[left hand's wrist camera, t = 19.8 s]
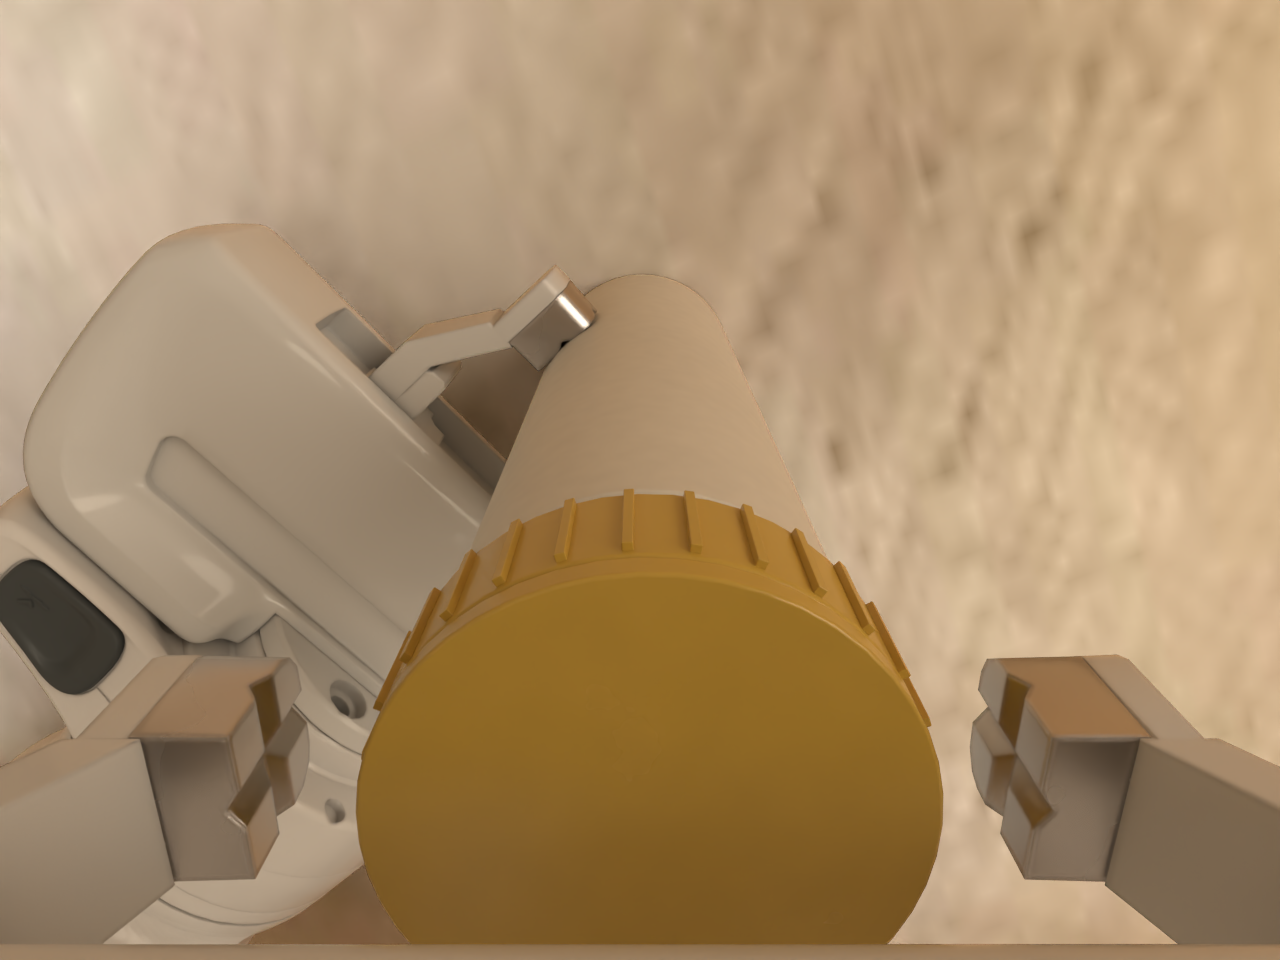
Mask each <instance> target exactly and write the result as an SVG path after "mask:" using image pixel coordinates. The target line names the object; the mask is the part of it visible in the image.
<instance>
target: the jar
mask: <svg viewBox="0 0 1280 960" xmlns="http://www.w3.org/2000/svg"><path fill="white" fill-rule="evenodd" d="M585 297H586V298H587V299H588V301H589V302H590V303H591V304H592V305H593V306H594V307H595V308H596V310H597V312H596V313H595V315H596V317H595V319H594V320H593V321H592V322H591V324H590V325H589V326H588V327H587V328H586V329H585V330H584V331H583V332H582V333H581V334H579V335H578V336H577V337H575V338H574V339H573V340H571V341H563V344H562V347H561V349H560V351H559V352H558V353H557V355H556V356H555V357H554V358H553V359H552V360H551V361H550V362H549V363H548V364H547V365H546V368H545V370H544V372H543V375H542V377H541V380H540V382H539V384H538V387H537V389H536V392H535V394H534V397H533V399H532V401H531V404H530V406H529V409H528V411H527V413H526V416H525V418H524V421H523V423H522V425H521V428H520V430H519V433H518V435H517V438H516V440H515V442H514V445H513V447H512V450H511V452H510V454H509V457H508V459H507V462H506V464H505V466H504V469H503V471H502V474H501V476H500V479H499V481H498V483H497V486H496V488H495V491H494V493H493V495H492V498H491V500H490V503H489V505H488V507H487V510H486V512H485V515H484V517H483V520H482V522H481V524H480V527H479V529H478V532H477V534H476V536H475V539H474V541H473V544H472V546H471V549H472V550H473V551H474V552H476V553H477V552H478V551H479V550H481V549H482V548H484V547H485V546H487V545H488V544H490V543H491V542H492V541H494V540H495V539H497V538H498V537H500V536H501V535H503V534H504V533H505V532H507V531H508V529H509V526H510V523H511V522H513V521H515V520H516V519H520V520H521V522H522V523H525V522H527V521H529V520H531V519H533V518H535V517H537V516H540V515H542V514H545V513H548V512H551V511H553V510H556V509H559V508H562V507H564V502H565V500H567V499H571V498H575V501H576V503H580V502H585V501H589V500H593V499H598V498H602V497H612V496H622V495H623V493H624V489H634V494H660V495H678V496H683V495H684V491H685V490H686V491H693V492H694V493H695V498H698V499H705V500H710V501H714V502H718V503H721V504H725V505H728V506H732V507H736V508H739V509H741V506H742V504H746V505H749V506H751V507H752V509H753V512H754V515H757V516H759V517H762V518H764V519H766V520H769V521H771V522H773V523H775V524H777V525H779V526H780V527H782V528H784V529H786V530H787V531H789V532H791V533H792V531H793V530H794V529H795V528H797V529H799V530H800V531H802V532H803V533H804V536H805V538H806V540H807V543H808V544H809V545H810V546H812V547H813V548H814V549H815V550H817V551H818V552H819V553H821V554H822V555H823V556H824V557H826V555H825V553H824V550H823V548H822V546H821V544H820V542H819V539H818V537H817V535H816V533H815V531H814V528H813V526H812V524H811V522H810V520H809V517H808V515H807V513H806V511H805V508H804V506H803V504H802V502H801V500H800V497H799V495H798V493H797V491H796V489H795V486H794V484H793V482H792V480H791V478H790V475H789V473H788V471H787V469H786V467H785V464H784V462H783V460H782V458H781V456H780V453H779V451H778V449H777V447H776V445H775V442H774V440H773V438H772V436H771V434H770V431H769V429H768V427H767V425H766V422H765V420H764V418H763V416H762V414H761V411H760V409H759V407H758V405H757V403H756V400H755V398H754V396H753V394H752V392H751V389H750V387H749V385H748V383H747V381H746V378H745V376H744V374H743V372H742V370H741V367H740V365H739V363H738V361H737V359H736V356H735V354H734V352H733V350H732V347H731V345H730V343H729V341H728V339H727V336H726V334H725V332H724V330H723V328H722V326H721V324H720V322H719V320H718V318H717V316H716V314H715V313H714V312H713V310H712V309H711V307H710V306H709V305H708V304H707V303H706V302H705V301H704V299H703V298H702V297H700V296H699V295H698V294H697V293H696V292H694V291H693V290H691V289H690V288H688V287H687V286H685V285H683V284H681V283H679V282H677V281H675V280H672V279H669V278H665V277H662V276H656V275H645V274H637V275H628V276H623V277H619V278H615V279H613V280H610V281H608V282H605V283H603V284H601V285H600V286H598V287H596V288H594V289H593V290H592V291H590V292H589V293H588V294H586V295H585ZM826 558H827V557H826Z"/></svg>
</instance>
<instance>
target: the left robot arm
mask: <svg viewBox="0 0 1280 960" xmlns="http://www.w3.org/2000/svg"><path fill="white" fill-rule="evenodd" d="M301 690H302V688H301V683H300V678H299V673H298V668H297V665H296V664H295V663H294V662H293V660H292V659H291V658H290V657H250V656H201V655H172V656H160V657H156V658H153V659H152V660H151V661H150V662H149V663H148V664H147V665H146V666H145V667H144V668H143V669H142V670H141V671H140V672H139V673H138V674H137V675H136V676H135V677H134V678H133V679H132V680H131V681H130V682H129V684H128V685H127V686H126V687H125V688H124V689H123V690H122V691H121V692H120V693H119V694H118V695H117V696H116V697H115V698H114V699H113V700H112V701H111V702H110V703H109V704H108V705H107V707H106V708H105V709H104V710H103V711H102V712H101V713H100V714H99V715H98V716H97V717H96V718H95V719H94V720H93V721H92V722H91V723H90V724H89V725H88V726H87V727H86V728H85V729H84V731H83V732H82V733H81V734H80V735H79V736H78V737H77V738H76V739H60V740H57V741H55V742H53V743H51V744H49V745H47V746H44V747H42V748H40V749H38V750H36V751H34V752H31V753H29V754H27V755H25V756H23V757H21V758H18V759H16V760H14V761H12V762H10V763H8V764H5V765H3V766H1V767H0V960H1280V767H1279V766H1277V765H1275V764H1272V763H1270V762H1268V761H1266V760H1264V759H1262V758H1259V757H1257V756H1255V755H1253V754H1251V753H1249V752H1246V751H1244V750H1242V749H1240V748H1238V747H1236V746H1233V745H1231V744H1229V743H1227V742H1225V741H1223V740H1220V739H1204V738H1203V737H1202V736H1201V735H1200V734H1199V733H1198V731H1197V730H1196V729H1195V728H1194V727H1193V726H1192V725H1191V724H1190V723H1189V722H1188V721H1187V720H1186V719H1185V718H1184V717H1183V716H1182V715H1181V714H1180V713H1179V712H1178V711H1177V710H1176V708H1175V707H1174V706H1173V705H1172V704H1171V703H1170V702H1169V701H1168V700H1167V699H1166V698H1165V697H1164V696H1163V695H1162V694H1161V693H1160V692H1159V691H1158V690H1157V689H1156V688H1155V687H1154V685H1153V684H1152V683H1151V682H1150V681H1149V680H1148V679H1147V678H1146V677H1145V676H1144V675H1143V674H1142V673H1141V672H1140V671H1139V670H1138V669H1137V668H1136V667H1135V666H1134V665H1133V663H1132V662H1131V661H1130V660H1129V659H1127V658H1124V657H1122V656H1119V655H1096V656H1074V657H1035V658H996V659H987V660H986V662H985V664H984V666H983V669H982V671H981V676H980V682H979V687H978V690H979V692H980V694H981V695H982V697H983V699H984V700H985V702H986V704H987V705H988V707H987V708H986V709H985V710H984V711H983V712H982V713H981V714H980V716H979V717H978V718H977V719H976V720H975V721H974V722H973V726H972V734H971V742H970V754H971V765H972V772H973V776H974V779H975V783H976V786H977V789H978V791H979V793H980V795H981V797H982V799H983V801H984V803H985V805H987V806H988V807H990V808H991V809H993V810H994V811H996V812H997V813H999V814H1000V815H1002V816H1003V821H1002V827H1001V833H1000V834H1001V836H1002V837H1003V839H1004V841H1005V843H1006V845H1007V847H1008V849H1009V851H1010V853H1011V854H1012V856H1013V858H1014V860H1015V862H1016V864H1017V866H1018V868H1019V869H1020V871H1021V873H1022V875H1023V877H1024V879H1030V880H1067V881H1103V882H1105V886H1107V887H1108V888H1109V889H1110V890H1111V891H1113V892H1114V893H1115V894H1116V895H1118V896H1119V897H1120V898H1121V899H1123V900H1124V901H1125V902H1126V903H1128V904H1129V905H1130V906H1131V907H1133V908H1134V909H1135V910H1136V911H1138V912H1139V913H1140V914H1141V915H1143V916H1144V917H1145V918H1146V919H1148V920H1149V921H1150V922H1151V923H1153V924H1154V925H1155V926H1156V927H1158V928H1159V929H1160V930H1161V931H1162V932H1164V933H1165V934H1166V935H1167V936H1169V937H1170V938H1171V939H1172V940H1174V941H1175V942H1176V943H1177V944H103V943H104V942H105V941H107V940H108V939H109V938H110V937H112V936H113V935H114V934H115V933H117V932H118V931H119V930H120V929H122V928H123V927H124V926H125V925H127V924H128V923H129V922H130V921H132V920H133V919H134V918H135V917H137V916H138V915H139V914H140V913H141V912H143V911H144V910H145V909H146V908H148V907H149V906H150V905H151V904H153V903H154V902H155V901H156V900H158V899H159V898H160V897H161V896H163V895H164V894H165V893H166V892H168V891H169V890H170V889H171V888H173V887H174V886H175V883H174V882H177V881H212V880H247V879H256V877H257V875H258V873H259V871H260V870H261V868H262V866H263V864H264V862H265V860H266V858H267V856H268V854H269V853H270V851H271V849H272V847H273V845H274V843H275V841H276V839H277V837H278V836H279V834H280V832H279V827H278V821H277V816H278V815H280V814H281V813H283V812H284V811H286V810H287V809H289V808H290V807H292V806H293V805H295V803H296V801H297V799H298V797H299V795H300V793H301V791H302V789H303V787H304V783H305V779H306V774H307V770H308V765H309V759H310V739H309V732H308V725H307V722H306V721H305V720H304V719H303V718H302V717H301V716H300V714H299V713H298V712H297V711H296V710H295V709H294V708H293V707H292V705H293V704H294V702H295V700H296V699H297V697H298V695H299V694H300V692H301Z"/></svg>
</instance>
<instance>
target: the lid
mask: <svg viewBox="0 0 1280 960" xmlns="http://www.w3.org/2000/svg"><path fill="white" fill-rule="evenodd" d="M910 676H911V675H910V673H909V671H908V669H907V667H906V665H905V663H904V661H903V659H902V657H901V655H900V653H899V651H898V649H897V647H896V645H895V643H894V642H893V640H892V638H891V636H890V634H889V632H888V630H887V628H886V626H885V624H884V622H883V620H882V618H881V616H880V614H879V612H878V610H877V608H876V607H875V605H874V603H873V602H870V603H868V604H865V603H864V601H863V600H862V599H861V597H860V596H859V594H858V592H857V590H856V588H855V586H854V584H853V582H852V580H851V578H850V576H849V574H848V571H847V569H846V567H845V566H844V565H843V564H842V563H841V562H840V561H839V562H837V563H836V564H835V565H833V564H832V563H831V562H830V561H829V560H828V559H827V558H826V557H824V556H823V555H822V554H821V553H819V552H818V551H817V550H815V549H814V548H813V547H812V546H810V545H809V544H808V543H807V540H806V538H805V536H804V533H803V532H802V531H800V530H799V529H797V528H795V529H794V530H793V531H792V533H791V532H789V531H787V530H786V529H784V528H782V527H780V526H779V525H777V524H775V523H773V522H771V521H769V520H766V519H764V518H762V517H759V516H757V515H754V512H753V509H752V507H751V506H749V505H746V504H742V506H741V509H739V508H736V507H732V506H728V505H725V504H721V503H718V502H714V501H710V500H705V499H698V498H695V493H694V492H693V491H686V490H685V491H684V495H683V496H678V495H660V494H634V489H624V493H623V495H622V496H612V497H602V498H598V499H593V500H589V501H585V502H580V503H576V501H575V498H571V499H567V500H565V502H564V507H562V508H559V509H556V510H553V511H551V512H548V513H545V514H542V515H540V516H537V517H535V518H533V519H531V520H529V521H527V522H525V523H522V522H521V520H520V519H516V520H515V521H513V522H511V523H510V526H509V529H508V531H507V532H505V533H504V534H503V535H501V536H500V537H498V538H497V539H495V540H494V541H492V542H491V543H490V544H488V545H487V546H485V547H484V548H482V549H481V550H479V551H478V552H477V553H476V552H474V551H473V550H472V549H470V550H469V551H468V552H467V553H466V554H465V555H464V558H463V560H462V562H461V565H460V567H459V569H458V571H456V572H455V574H454V575H453V576H452V577H451V579H450V580H449V581H448V582H447V583H446V585H445V586H444V587H443V588H442V590H441V591H440V590H439V589H437V588H435V587H434V588H433V589H432V591H431V592H430V593H429V595H428V598H427V600H426V602H425V604H424V606H423V608H422V611H421V613H420V615H419V617H418V619H417V621H416V623H415V626H414V628H413V630H412V631H408V633H407V635H406V637H405V640H404V642H403V644H402V646H401V648H400V650H399V652H398V654H397V657H396V659H395V661H394V663H393V665H392V667H391V669H390V671H389V674H388V676H387V678H386V680H385V682H384V684H383V686H382V688H381V690H380V693H379V695H378V697H377V699H376V701H375V704H374V706H373V709H375V710H378V711H380V713H379V715H378V717H377V719H376V722H375V724H374V726H373V728H372V731H371V733H370V735H369V737H368V739H367V742H366V744H365V746H364V748H363V750H362V755H361V760H362V762H361V766H360V771H359V775H358V780H357V794H356V821H357V830H358V839H359V846H360V849H361V853H362V857H363V860H364V864H365V867H366V871H367V874H368V877H369V879H370V881H371V883H372V886H373V888H374V890H375V892H376V894H377V897H378V899H379V901H380V903H381V904H382V906H383V908H384V909H385V911H386V912H387V914H388V915H389V917H390V919H391V920H392V922H393V923H394V925H395V926H396V928H397V929H398V930H399V931H400V933H401V934H402V935H403V936H404V937H405V938H406V940H407V941H408V942H409V943H410V944H888V943H889V942H890V941H891V939H892V938H893V937H894V936H895V935H896V933H897V932H898V931H899V929H900V928H901V926H902V925H903V924H904V922H905V921H906V920H907V918H908V917H909V915H910V914H911V913H912V911H913V909H914V907H915V905H916V904H917V902H918V900H919V898H920V896H921V894H922V892H923V890H924V889H925V887H926V885H927V882H928V879H929V876H930V873H931V871H932V868H933V865H934V862H935V859H936V857H937V852H938V846H939V841H940V835H941V830H942V824H943V788H942V781H941V774H940V767H939V761H938V758H937V755H936V752H935V749H934V746H933V743H932V739H931V736H930V733H929V730H928V728H927V727H929V726H931V722H930V719H929V716H928V714H927V712H926V710H925V708H924V706H923V704H922V702H921V700H920V698H919V696H918V694H917V692H916V691H915V689H914V687H913V685H912V683H911V681H910V679H909V677H910Z"/></svg>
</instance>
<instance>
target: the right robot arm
mask: <svg viewBox="0 0 1280 960" xmlns="http://www.w3.org/2000/svg"><path fill="white" fill-rule="evenodd" d="M596 312H597V310H596V308H595V307H594V306H593V305H592V304H591V303H590V302H589V301H588V299H587V298H586V297H585V296H584V295H583V294H582V293H581V292H580V290H579V289H578V288H577V287H576V286H575V285H574V284H573V282H572V281H571V280H570V279H569V278H568V277H567V276H566V274H565V273H564V272H563V271H562V270H561V269H560V268H559V267H558V266H557V265H554V266H553V267H552V268H551V269H549V270H548V271H547V272H546V273H545V274H544V275H543V276H542V277H541V278H540V279H539V280H538V281H536V282H535V283H534V284H533V285H532V286H531V287H530V288H529V289H528V290H527V291H526V292H525V293H524V294H523V295H522V296H521V297H520V298H519V299H517V300H516V301H515V302H514V303H513V304H512V305H511V306H510V307H509V308H508V309H507V310H506V311H505V312H503V311H502V310H501V309H496V310H491V311H486V312H481V313H477V314H472V315H467V316H463V317H458V318H453V319H448V320H444V321H439V322H434V323H429V324H425V325H424V326H423V327H422V328H420V329H419V330H418V331H417V332H416V333H415V334H413V335H412V336H411V337H410V338H409V339H408V340H406V341H405V342H404V343H403V344H402V345H401V346H400V347H399V348H398V349H397V350H396V351H395V350H394V349H393V348H392V347H391V346H390V345H389V344H388V343H387V342H386V341H385V340H384V339H383V338H382V337H381V336H380V335H379V334H378V333H377V332H376V331H375V330H374V329H373V328H372V327H371V326H370V325H369V324H368V323H367V322H366V321H365V320H364V319H363V318H362V317H361V316H360V315H359V314H358V313H357V312H356V311H355V310H354V309H353V308H352V307H351V306H350V305H349V304H348V303H347V302H346V301H345V300H344V299H343V298H342V297H341V296H340V295H339V294H338V293H337V292H335V291H334V290H333V289H332V288H331V287H330V286H329V285H328V284H327V283H326V282H325V281H324V280H323V279H322V278H321V277H320V276H319V275H318V274H317V273H316V272H315V271H314V270H313V269H312V268H311V267H310V266H309V265H308V264H307V263H306V262H305V261H304V260H303V259H302V258H301V257H300V256H299V255H298V254H297V253H296V252H295V251H294V250H293V249H292V248H291V247H290V246H289V245H288V244H287V243H286V242H285V241H284V240H283V239H282V238H281V237H280V236H279V235H278V234H276V233H275V232H274V231H273V230H271V229H270V228H268V227H266V226H263V225H260V224H214V225H205V226H197V227H194V228H190V229H186V230H183V231H180V232H177V233H175V234H172V235H170V236H168V237H166V238H164V239H163V240H161V241H159V242H158V243H156V244H155V245H154V246H153V247H151V248H150V249H149V250H148V251H146V252H145V253H144V254H143V256H142V257H141V258H140V259H139V260H138V261H137V262H136V263H135V264H134V265H133V266H132V268H131V269H130V270H129V271H128V272H127V273H126V275H125V276H124V277H123V278H122V279H121V281H120V282H119V283H118V284H117V285H116V287H115V288H114V289H113V290H112V292H111V293H110V294H109V295H108V297H107V298H106V299H105V301H104V302H103V303H102V305H101V306H100V307H99V308H98V310H97V311H96V312H95V314H94V315H93V317H92V318H91V319H90V321H89V322H88V324H87V325H86V326H85V328H84V329H83V331H82V332H81V333H80V335H79V336H78V338H77V339H76V341H75V342H74V344H73V345H72V347H71V348H70V350H69V351H68V353H67V354H66V356H65V357H64V359H63V360H62V362H61V363H60V365H59V367H58V368H57V370H56V372H55V373H54V375H53V377H52V378H51V380H50V382H49V383H48V385H47V387H46V388H45V390H44V392H43V393H42V395H41V397H40V399H39V401H38V402H37V404H36V406H35V408H34V411H33V413H32V415H31V418H30V421H29V424H28V427H27V430H26V434H25V439H24V446H23V465H24V472H25V476H26V481H27V484H28V486H27V487H25V488H24V489H23V490H21V491H20V492H19V493H17V494H16V495H14V496H13V497H12V498H10V499H9V500H8V501H6V502H5V503H4V504H3V505H1V506H0V632H1V633H2V635H3V636H4V637H5V638H6V640H7V641H8V642H9V643H10V645H11V646H12V647H13V649H14V650H15V651H16V653H17V654H18V655H19V657H20V658H21V659H22V661H23V662H24V663H25V665H26V666H27V667H28V669H29V670H30V671H31V673H32V674H33V676H34V677H35V678H36V680H37V681H38V683H39V684H40V686H41V687H42V689H43V690H44V692H45V693H46V694H47V696H48V697H49V699H50V700H51V702H52V704H53V705H54V707H55V708H56V710H57V712H58V713H59V715H60V716H61V718H62V720H63V721H64V723H65V725H66V726H65V728H64V729H62V730H60V731H57V732H55V733H53V734H50V735H49V736H47V737H45V738H44V739H42V740H40V741H38V742H37V743H35V744H33V745H32V746H30V747H29V748H27V749H26V750H25V751H24V752H22V753H21V754H20V755H18V756H17V757H16V758H15V759H13V760H12V761H14V760H16V759H18V758H21V757H23V756H25V755H27V754H29V753H31V752H34V751H36V750H38V749H40V748H42V747H44V746H47V745H49V744H51V743H53V742H55V741H57V740H60V739H76V738H77V737H78V736H79V735H80V734H81V733H82V732H83V731H84V729H85V728H86V727H87V726H88V725H89V724H90V723H91V722H92V721H93V720H94V719H95V718H96V717H97V716H98V715H99V714H100V713H101V712H102V711H103V710H104V709H105V708H106V707H107V705H108V704H109V703H110V702H111V701H112V700H113V699H114V698H115V697H116V696H117V695H118V694H119V693H120V692H121V691H122V690H123V689H124V688H125V687H126V686H127V685H128V684H129V682H130V681H131V680H132V679H133V678H134V677H135V676H136V675H137V674H138V673H139V672H140V671H141V670H142V669H143V668H144V667H145V666H146V665H147V664H148V663H149V662H150V661H151V660H152V659H153V658H156V657H160V656H172V655H201V656H250V657H290V658H291V659H292V660H293V662H294V663H295V664H296V665H297V668H298V673H299V678H300V683H301V688H302V690H301V692H300V694H299V695H298V697H297V699H296V700H295V702H294V704H293V705H292V707H293V708H294V709H295V710H296V711H297V712H298V713H299V714H300V716H301V717H302V718H303V719H304V720H305V721H306V722H307V725H308V732H309V739H310V759H309V765H308V770H307V774H306V779H305V783H304V787H303V789H302V791H301V793H300V795H299V797H298V799H297V801H296V803H295V805H293V806H292V807H290V808H289V809H287V810H286V811H284V812H283V813H281V814H280V815H278V816H277V821H278V827H279V832H280V834H279V836H278V837H277V839H276V841H275V843H274V845H273V847H272V849H271V851H270V853H269V854H268V856H267V858H266V860H265V862H264V864H263V866H262V868H261V870H260V871H259V873H258V875H257V877H256V879H247V880H212V881H177V882H174V883H175V886H174V887H173V888H171V889H170V890H169V891H168V892H166V893H165V894H164V895H163V896H161V897H160V898H159V899H158V900H156V901H155V902H154V903H153V904H151V905H150V906H149V907H148V908H146V909H145V910H144V911H143V912H141V913H140V914H139V915H138V916H137V917H135V918H134V919H133V920H132V921H130V922H129V923H128V924H127V925H125V926H124V927H123V928H122V929H120V930H119V931H118V932H117V933H115V934H114V935H113V936H112V937H110V938H109V939H108V940H107V941H105V942H104V943H103V944H248V943H249V942H250V940H251V939H252V937H253V935H255V934H257V933H260V932H263V931H265V930H268V929H270V928H273V927H275V926H277V925H279V924H281V923H283V922H285V921H287V920H289V919H291V918H293V917H295V916H296V915H298V914H299V913H301V912H302V911H304V910H305V909H306V908H308V907H309V906H310V905H312V904H313V903H315V902H316V901H317V900H319V899H320V898H321V897H322V896H324V895H325V894H326V893H328V892H329V891H330V890H331V889H333V888H334V887H335V886H337V885H338V884H339V883H340V882H342V881H343V880H344V879H346V878H347V877H348V876H349V875H351V874H352V873H353V872H355V871H356V870H357V869H358V868H360V867H361V866H362V865H363V864H364V860H363V857H362V853H361V849H360V846H359V839H358V830H357V821H356V794H357V780H358V775H359V771H360V766H361V762H362V760H361V755H362V750H363V748H364V746H365V744H366V742H367V739H368V737H369V735H370V733H371V731H372V728H373V726H374V724H375V722H376V719H377V717H378V715H379V713H380V711H378V710H375V709H373V706H374V704H375V701H376V699H377V697H378V695H379V693H380V690H381V688H382V686H383V684H384V682H385V680H386V678H387V676H388V674H389V671H390V669H391V667H392V665H393V663H394V661H395V659H396V657H397V654H398V652H399V650H400V648H401V646H402V644H403V642H404V640H405V637H406V635H407V633H408V631H412V630H413V628H414V626H415V623H416V621H417V619H418V617H419V615H420V613H421V611H422V608H423V606H424V604H425V602H426V600H427V598H428V595H429V593H430V592H431V591H432V589H433V588H434V587H435V588H437V589H439V590H440V591H441V590H442V588H443V587H444V586H445V585H446V583H447V582H448V581H449V580H450V579H451V577H452V576H453V575H454V574H455V572H456V571H458V569H459V567H460V565H461V562H462V560H463V558H464V555H465V554H466V553H467V552H468V551H469V550H470V549H471V546H472V544H473V541H474V539H475V536H476V534H477V532H478V529H479V527H480V524H481V522H482V520H483V517H484V515H485V512H486V510H487V507H488V505H489V503H490V500H491V498H492V495H493V493H494V491H495V488H496V486H497V483H498V481H499V479H500V476H501V474H502V471H503V469H504V466H505V464H506V462H507V460H506V459H505V458H504V457H503V456H502V455H501V454H500V453H499V452H498V451H497V450H496V449H495V448H494V447H493V446H492V445H491V444H490V443H489V442H488V441H487V440H486V439H484V438H483V437H482V436H481V435H480V434H479V433H478V432H477V431H476V430H475V429H474V428H473V427H472V426H471V425H470V424H469V423H468V422H467V421H466V420H465V419H464V418H463V417H462V416H461V415H460V414H459V413H458V412H457V411H456V410H455V409H454V408H453V407H452V406H451V405H450V404H449V403H448V402H447V401H446V400H445V399H444V398H443V397H442V396H441V395H440V394H441V393H442V392H443V391H444V390H445V389H446V388H447V386H448V385H449V384H450V382H451V381H452V380H453V378H454V377H455V376H456V375H457V373H458V372H459V371H460V369H461V368H462V362H461V361H460V360H462V359H467V358H471V357H475V356H479V355H484V354H488V353H492V352H497V351H501V350H505V349H510V348H512V347H514V348H515V349H516V350H517V351H518V352H519V353H520V354H521V355H522V356H523V357H524V358H525V359H526V360H527V361H528V362H529V363H530V364H531V365H532V366H533V367H534V368H535V369H536V370H537V371H538V372H539V371H540V370H541V369H542V368H543V367H545V366H546V365H547V364H548V363H549V362H550V361H551V360H552V359H553V358H554V357H555V356H556V355H557V353H558V352H559V351H560V349H561V347H562V344H563V341H571V340H573V339H574V338H575V337H577V336H578V335H579V334H581V333H582V332H583V331H584V330H585V329H586V328H587V327H588V326H589V325H590V324H591V322H592V321H593V320H594V319H595V317H596V315H595V313H596ZM12 761H11V762H12Z"/></svg>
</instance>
